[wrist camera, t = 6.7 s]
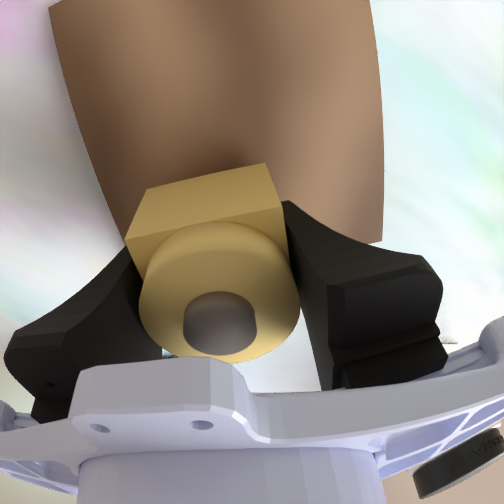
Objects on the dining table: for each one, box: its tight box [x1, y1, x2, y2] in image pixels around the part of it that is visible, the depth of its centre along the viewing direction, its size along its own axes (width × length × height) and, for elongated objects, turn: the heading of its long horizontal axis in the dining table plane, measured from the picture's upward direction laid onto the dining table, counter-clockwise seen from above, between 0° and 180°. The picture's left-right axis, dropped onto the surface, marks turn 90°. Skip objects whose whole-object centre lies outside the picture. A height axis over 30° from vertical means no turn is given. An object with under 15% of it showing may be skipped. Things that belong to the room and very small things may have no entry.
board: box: [48, 0, 384, 245], centre depth 12 cm, size 12×14×1 cm
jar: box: [407, 344, 504, 499], centre depth 21 cm, size 9×8×12 cm
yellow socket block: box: [124, 163, 300, 364], centre depth 11 cm, size 5×5×6 cm
